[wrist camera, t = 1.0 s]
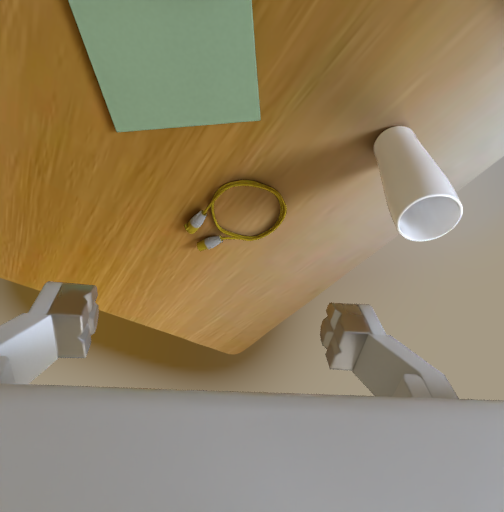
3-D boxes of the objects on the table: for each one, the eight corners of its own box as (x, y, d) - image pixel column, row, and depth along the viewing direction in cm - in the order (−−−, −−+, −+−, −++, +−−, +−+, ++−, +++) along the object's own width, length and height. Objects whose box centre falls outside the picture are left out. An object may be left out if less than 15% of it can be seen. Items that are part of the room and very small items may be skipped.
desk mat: (20, -139, 32) (16, -139, 32) (238, -167, 31) (238, -167, 31) (118, 129, 50) (116, 132, 49) (260, 117, 49) (260, 120, 48)
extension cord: (173, 185, 56) (171, 194, 55) (283, 174, 55) (284, 182, 53) (193, 245, 65) (191, 254, 63) (288, 236, 63) (289, 245, 62)
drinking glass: (424, 114, 48) (471, 189, 38) (416, 161, 53) (455, 239, 43) (368, 122, 49) (399, 197, 39) (365, 167, 54) (392, 245, 44)
